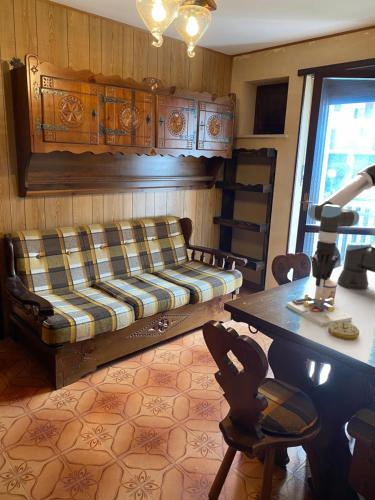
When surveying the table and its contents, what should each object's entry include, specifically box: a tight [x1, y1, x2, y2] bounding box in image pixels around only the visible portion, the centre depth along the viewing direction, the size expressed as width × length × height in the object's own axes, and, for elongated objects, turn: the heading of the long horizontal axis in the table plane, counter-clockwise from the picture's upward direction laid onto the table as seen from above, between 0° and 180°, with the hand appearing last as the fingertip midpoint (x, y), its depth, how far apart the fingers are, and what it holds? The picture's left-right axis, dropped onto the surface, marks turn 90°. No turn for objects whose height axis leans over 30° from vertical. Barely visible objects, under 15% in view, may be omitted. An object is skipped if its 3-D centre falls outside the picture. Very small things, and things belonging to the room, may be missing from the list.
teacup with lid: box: [314, 277, 338, 300], centre depth 181 cm, size 12×9×12 cm
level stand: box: [286, 297, 352, 327], centre depth 166 cm, size 16×22×3 cm
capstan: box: [303, 293, 336, 312], centre depth 165 cm, size 17×17×5 cm
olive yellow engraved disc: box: [328, 322, 360, 341], centre depth 147 cm, size 10×11×4 cm
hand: (318, 292), depth 171 cm, fingers closed
